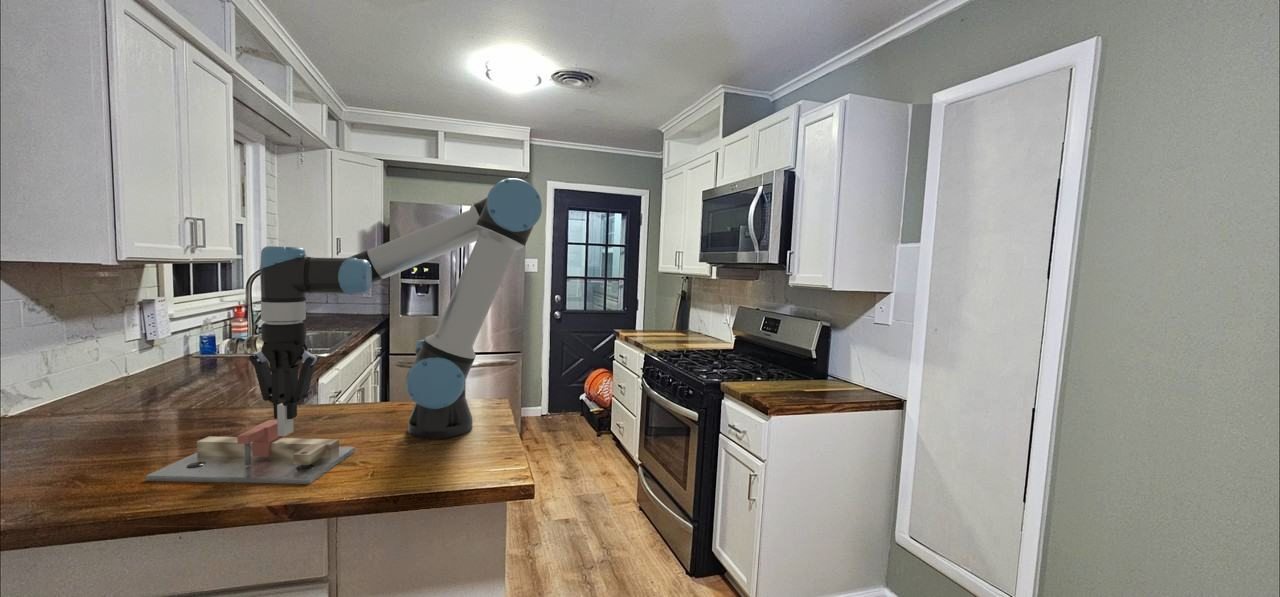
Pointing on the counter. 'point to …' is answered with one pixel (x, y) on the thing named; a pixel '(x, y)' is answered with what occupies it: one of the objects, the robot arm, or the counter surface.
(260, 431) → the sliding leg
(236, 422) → the counter surface
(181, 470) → the steel plate
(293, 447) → the beam with fixed leg
